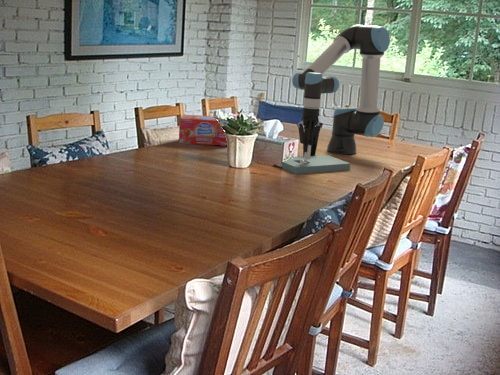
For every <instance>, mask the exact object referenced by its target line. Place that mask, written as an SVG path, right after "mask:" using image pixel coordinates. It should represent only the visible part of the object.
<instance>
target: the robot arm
mask: <svg viewBox="0 0 500 375" xmlns="http://www.w3.org/2000/svg"><path fill="white" fill-rule="evenodd" d="M390 44H391V36H390V33H389V30H387V28H386V27H385V26H381V25H380V26H379V25H370V24H368V25H367V24H364V25H363V24H353V25H351V26H349V27H347V28H345V29H344V30H342V31H340V33H338V34H337V35H336V36H335V38H333V40H332V43H331V44H330V45H329V46H328V47H327V48H326V49H324V51H323V52H322V53H321V54H320V55H319V56H318V57H317V58H316V59H315V60H314V61H313V62H312V63H311V64H310V65H309V66H308V67H307V68H306V69H305V70H304V71H303V72H300V71H299V72H296V73H294V75H293V77H292V80H291V83H292V87H293V88H295V89H297V90H301V91H304V92H303V102H302V106H303V107H302V119H301V121H299V122H297V123H296V126H297V128H298V135H299V136H298V137H299V142H300V144H302V145H303V144H304V149H302V150H303V151H304V159H307V160H309V159H310V153H311V152H312V145H314V144H316V142H317V139H318V140H319V137H318V135H319V136H320V132H321V128H322V126H323V124H324V123H323V122H321V121H320V120H319V119H320V118H319V117H320V110H321V109H320V107H321V96H322V94H333V93H336V92H337V91H338V90H339V88H340V82H339V79H338V78H337V77H336V76H331V75H329V76H326V75H325V74H326V72H328V70H329V69H330V68H331V67H333V65H334V64H335V63H337V62H338V60H339V59H340V58H341V57H342V56H343V55H345V54H347V53H349V52H350V51H351V50H356V49H357V50H359V55H360V57H361V58H362V60H361V75H360V76H361V77H360V93H359V106H358V107H355V106H353V107H351V106H350V107H349V106H348V107H345V106H344V107H336V108H335V109H334V111H333V119H332V129H331V130H332V131H331V137H330V139H329V142H328V144H327V148H326V151H328V152H329V153H333V154H339V155H353V154H357V144H356V141H355V135H357V136H359V135H360V136H363V137H366V138H368V137H369V138H375V137H377V136H378V135H380V133H381V132H382V130H383V128H384V125H385V124H384V123H385V119H384V117H383V115H381V114H380V111H381V109H380V108H379V107H378V98H379V96H378V95H379V84H380V83H379V82H380V70H381V58H382V57H383V56H384V54H385V52H386V51H387V50H388V49H389V46H390Z"/></svg>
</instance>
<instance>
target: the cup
mask: <svg viewBox="0 0 500 375" xmlns="http://www.w3.org/2000/svg"><path fill="white" fill-rule="evenodd" d="M319 136H320V134H319V135H318V139H317V142H316V144H314V145H312V152H311V153H310V156H316V153H317V146H318V142H319ZM302 148H303V149H304V144H302ZM303 149H302V150H303ZM302 157H304V151H303V152H302Z"/></svg>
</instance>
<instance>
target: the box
mask: <svg viewBox="0 0 500 375" xmlns="http://www.w3.org/2000/svg"><path fill="white" fill-rule="evenodd" d="M214 117H215V116H212V115H198V114H197V115H195V114H183V115H181V116H180V117H179V124H178V126H179V130H178V144H187V145H188V144H189V145H201V146H202V145H203V146H214V145H220V146H219V147H227V146H226V145H227V141H226V137H225V134H224V131H223V129H222V128H221V126H220V124H219V123H218V121H217V120H216V119H214Z"/></svg>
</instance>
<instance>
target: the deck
mask: <svg viewBox="0 0 500 375" xmlns="http://www.w3.org/2000/svg"><path fill="white" fill-rule="evenodd" d="M294 157H295V158H293V159H289V160H287V161H284V162H282V168H281V169H284V170H286V171H287V172H290V173H293V174H295V175H303V174H311V173H312V174H313V173H326V172H327V173H328V172H338V171H339V172H340V171H350V170H351V162H348V161H345V160H342V159H339V158H337V157H334V156H331V155H328V154H323V155H321V154H320V155H315V156H310V159H309V160H307V159H304V157H303V156H294ZM302 159H304V160H306V161H307V162H308V163H301V164H300V163H299V162H300V160H302Z"/></svg>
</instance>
